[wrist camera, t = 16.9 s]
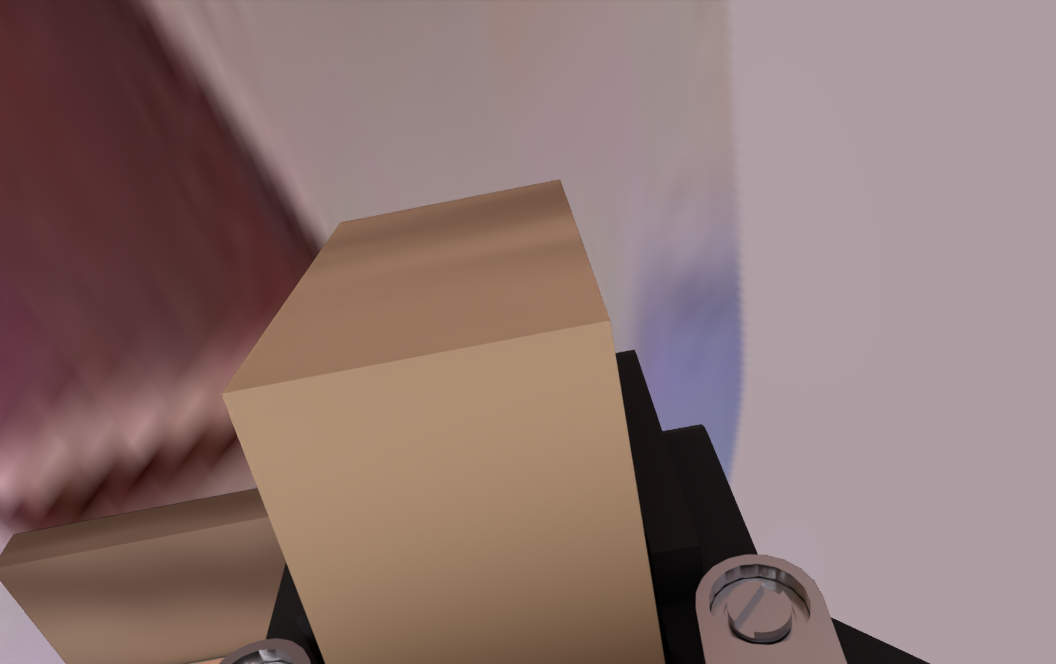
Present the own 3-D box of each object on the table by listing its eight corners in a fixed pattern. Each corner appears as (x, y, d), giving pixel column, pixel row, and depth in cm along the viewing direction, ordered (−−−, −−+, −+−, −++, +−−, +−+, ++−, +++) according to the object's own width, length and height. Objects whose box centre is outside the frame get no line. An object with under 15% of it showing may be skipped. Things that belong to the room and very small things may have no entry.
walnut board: (13, 534, 27) (-9, 569, 25) (417, 458, 26) (415, 489, 25) (200, 786, 35) (190, 821, 34) (509, 731, 35) (510, 764, 33)
